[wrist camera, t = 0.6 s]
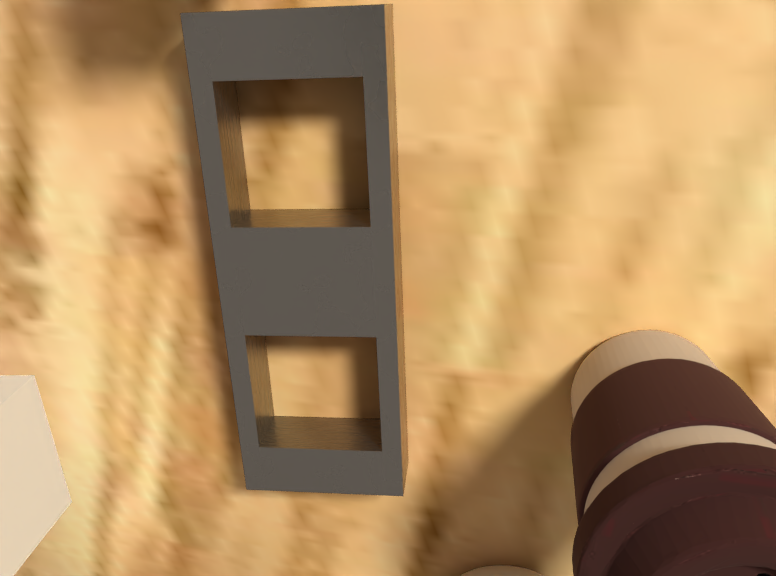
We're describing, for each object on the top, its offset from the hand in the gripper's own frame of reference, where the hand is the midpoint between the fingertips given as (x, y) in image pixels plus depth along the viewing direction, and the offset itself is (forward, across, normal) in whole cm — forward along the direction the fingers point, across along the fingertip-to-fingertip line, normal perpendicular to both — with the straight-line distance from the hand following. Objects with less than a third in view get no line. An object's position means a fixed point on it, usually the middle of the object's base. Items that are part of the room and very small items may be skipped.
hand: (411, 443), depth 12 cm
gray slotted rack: (+23, -7, -5) cm, 25 cm away
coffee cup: (+23, +9, -13) cm, 28 cm away
